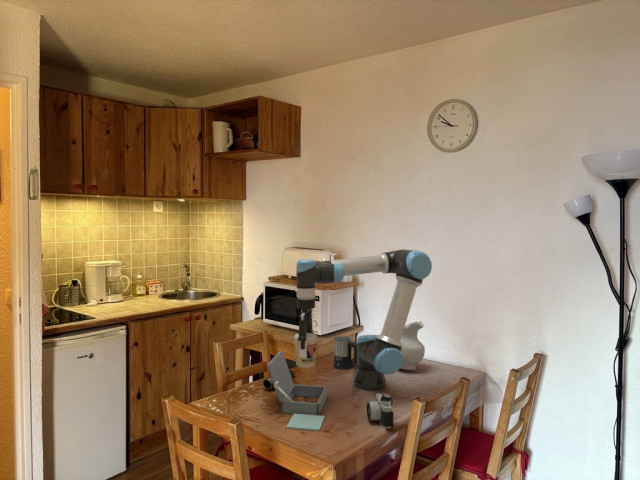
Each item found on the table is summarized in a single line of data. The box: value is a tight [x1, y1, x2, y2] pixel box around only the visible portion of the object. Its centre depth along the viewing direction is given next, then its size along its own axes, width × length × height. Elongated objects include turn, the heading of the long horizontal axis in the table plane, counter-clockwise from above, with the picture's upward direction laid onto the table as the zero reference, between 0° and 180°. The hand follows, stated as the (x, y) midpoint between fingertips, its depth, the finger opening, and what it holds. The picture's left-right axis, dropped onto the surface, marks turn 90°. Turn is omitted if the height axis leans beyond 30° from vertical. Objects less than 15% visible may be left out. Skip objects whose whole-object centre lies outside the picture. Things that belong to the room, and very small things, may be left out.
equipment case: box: [266, 350, 328, 416], centre depth 192 cm, size 21×20×19 cm
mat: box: [286, 414, 326, 432], centre depth 174 cm, size 12×12×1 cm
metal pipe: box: [262, 369, 296, 390], centre depth 215 cm, size 18×7×6 cm, turn 143°
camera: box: [366, 393, 394, 429], centre depth 177 cm, size 16×9×10 cm, turn 5°
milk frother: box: [333, 335, 357, 370], centre depth 246 cm, size 14×16×15 cm
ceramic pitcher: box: [399, 321, 426, 371], centre depth 242 cm, size 22×20×25 cm
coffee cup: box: [293, 333, 318, 369], centre depth 191 cm, size 9×9×12 cm
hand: (305, 353), depth 191 cm, fingers closed on coffee cup, 9 cm apart
